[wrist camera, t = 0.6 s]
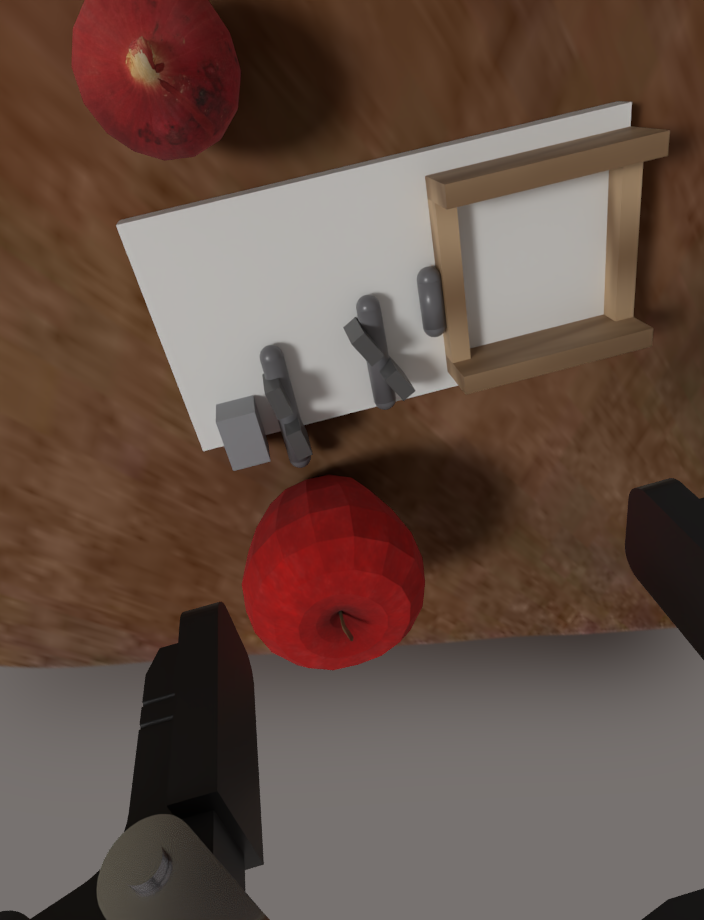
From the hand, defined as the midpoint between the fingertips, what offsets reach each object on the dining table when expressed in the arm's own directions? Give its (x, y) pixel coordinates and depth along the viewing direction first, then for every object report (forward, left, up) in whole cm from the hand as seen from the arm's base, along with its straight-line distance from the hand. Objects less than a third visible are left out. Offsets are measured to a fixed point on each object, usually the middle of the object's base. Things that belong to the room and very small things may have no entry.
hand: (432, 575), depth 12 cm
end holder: (+2, +11, -21) cm, 24 cm away
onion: (-9, -4, -23) cm, 25 cm away
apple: (+14, -3, -23) cm, 27 cm away
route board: (+3, +4, -22) cm, 23 cm away
